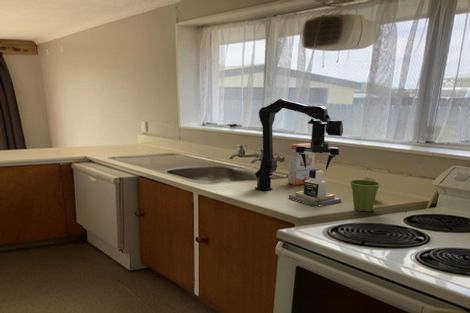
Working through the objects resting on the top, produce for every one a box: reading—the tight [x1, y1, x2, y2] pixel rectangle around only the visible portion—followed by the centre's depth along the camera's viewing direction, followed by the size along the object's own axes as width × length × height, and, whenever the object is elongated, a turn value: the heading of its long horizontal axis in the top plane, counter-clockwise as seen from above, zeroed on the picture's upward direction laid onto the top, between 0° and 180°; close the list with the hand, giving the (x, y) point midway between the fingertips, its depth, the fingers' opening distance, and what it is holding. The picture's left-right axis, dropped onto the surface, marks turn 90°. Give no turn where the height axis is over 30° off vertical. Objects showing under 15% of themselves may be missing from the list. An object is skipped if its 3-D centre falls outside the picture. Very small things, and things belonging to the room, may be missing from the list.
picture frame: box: [288, 190, 342, 207], centre depth 171 cm, size 16×16×3 cm
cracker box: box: [287, 142, 316, 186], centre depth 204 cm, size 14×6×21 cm, turn 129°
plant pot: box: [349, 179, 381, 213], centre depth 158 cm, size 12×12×11 cm
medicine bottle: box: [303, 168, 328, 197], centre depth 170 cm, size 7×7×12 cm
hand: (315, 169), depth 175 cm, fingers open, 9 cm apart
